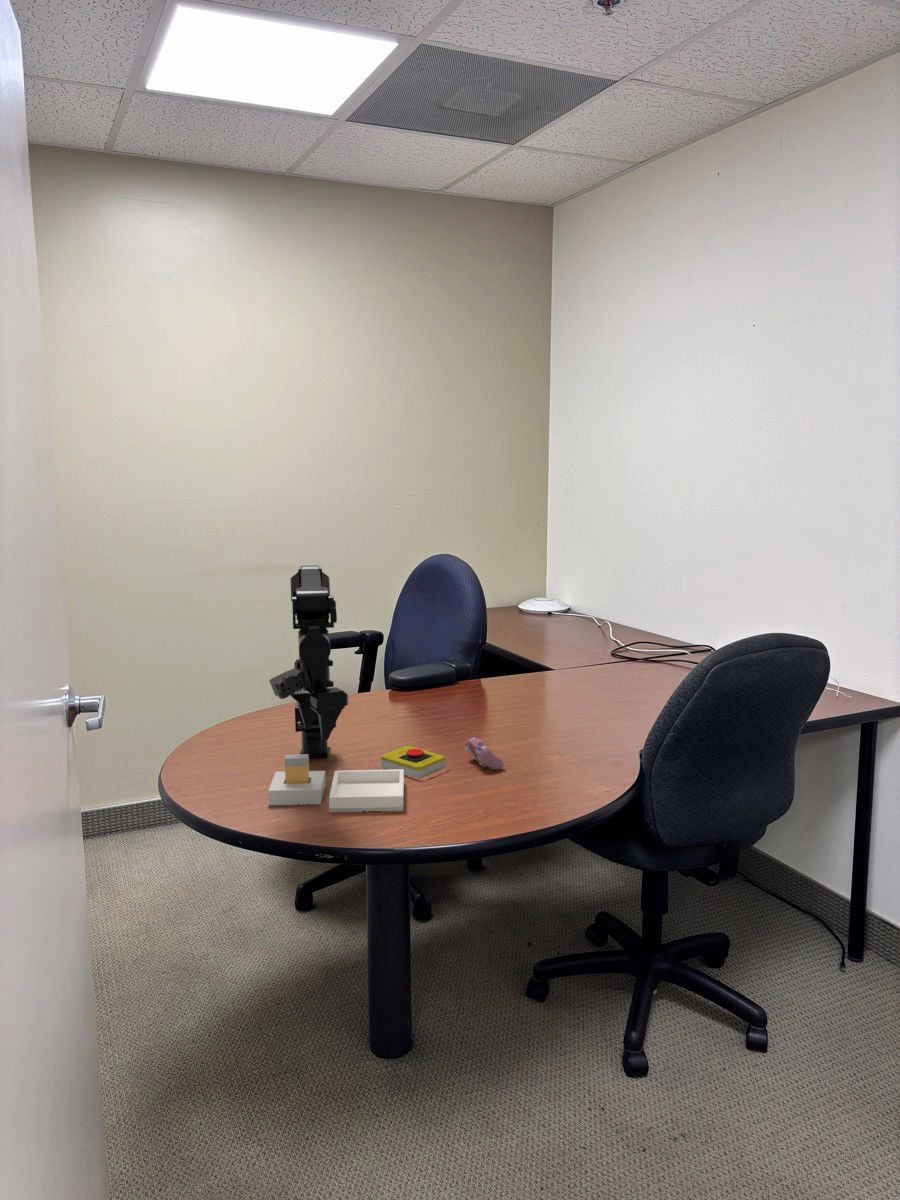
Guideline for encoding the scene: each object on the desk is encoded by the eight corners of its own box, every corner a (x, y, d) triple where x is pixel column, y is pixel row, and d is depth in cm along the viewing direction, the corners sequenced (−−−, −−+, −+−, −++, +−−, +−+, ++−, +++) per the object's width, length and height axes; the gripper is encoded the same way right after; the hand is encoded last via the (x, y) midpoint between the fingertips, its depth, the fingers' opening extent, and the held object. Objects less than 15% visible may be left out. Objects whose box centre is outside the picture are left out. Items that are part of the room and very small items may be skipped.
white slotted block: (276, 785, 180) (275, 771, 179) (325, 784, 180) (325, 770, 180) (268, 805, 170) (268, 790, 169) (320, 804, 170) (320, 789, 170)
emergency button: (423, 764, 181) (371, 748, 190) (423, 784, 182) (371, 767, 191) (452, 752, 188) (400, 737, 197) (452, 771, 189) (400, 756, 198)
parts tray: (335, 784, 180) (335, 770, 180) (403, 783, 181) (403, 769, 180) (329, 812, 167) (329, 797, 166) (403, 811, 167) (403, 796, 167)
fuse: (287, 792, 176) (286, 754, 175) (309, 792, 176) (308, 754, 175) (286, 797, 174) (284, 758, 172) (308, 797, 174) (307, 758, 173)
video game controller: (471, 764, 196) (458, 738, 194) (488, 752, 197) (475, 727, 195) (489, 779, 187) (475, 753, 185) (506, 767, 188) (493, 741, 186)
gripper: (258, 651, 173) (261, 728, 175) (290, 668, 157) (293, 752, 159) (311, 645, 178) (313, 720, 180) (348, 661, 162) (350, 743, 164)
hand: (316, 733), depth 171 cm, fingers open, 9 cm apart
